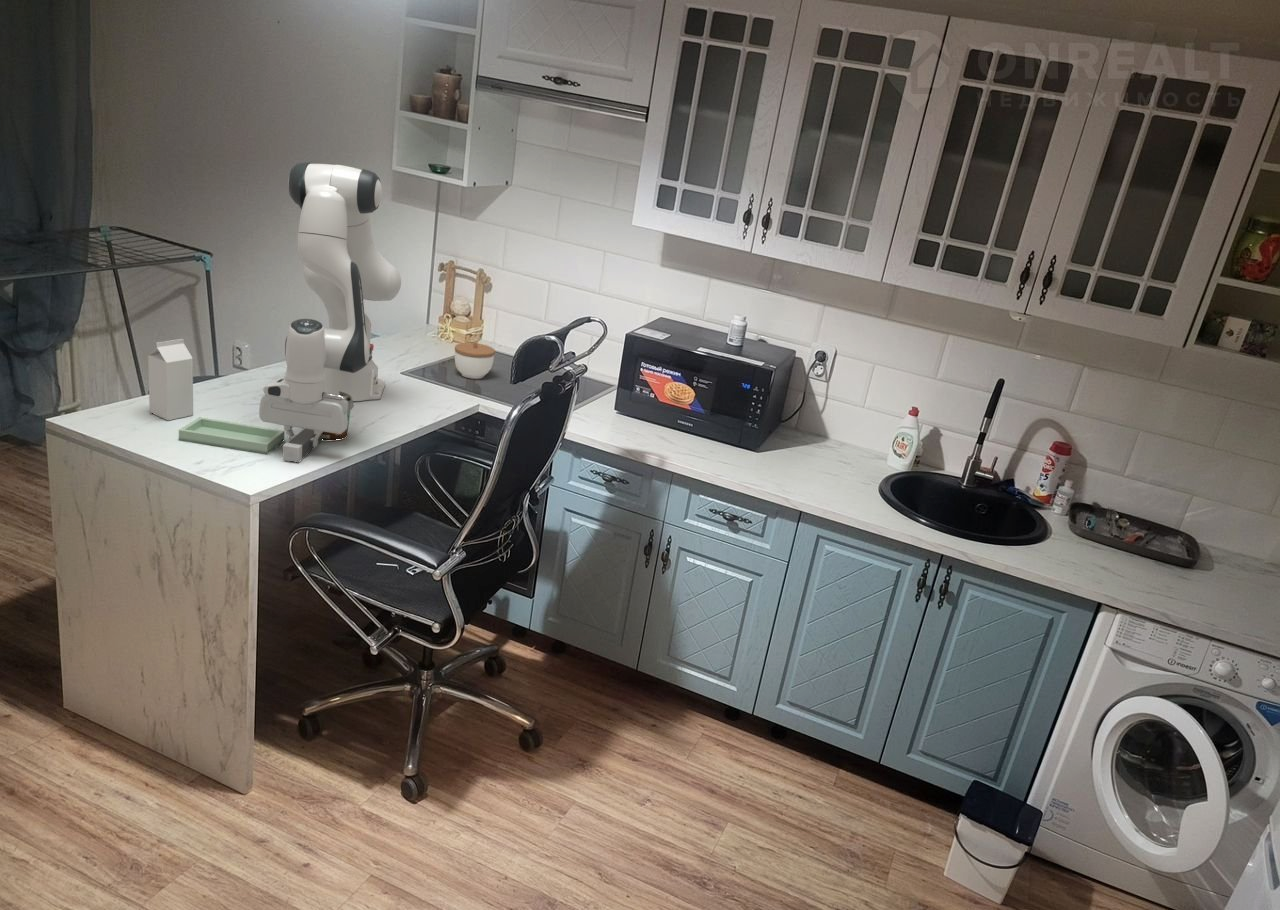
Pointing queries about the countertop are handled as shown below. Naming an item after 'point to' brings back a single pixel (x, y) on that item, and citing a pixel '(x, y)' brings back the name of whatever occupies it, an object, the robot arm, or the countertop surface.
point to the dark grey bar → (299, 445)
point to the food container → (350, 405)
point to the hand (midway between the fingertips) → (303, 444)
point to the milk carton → (171, 380)
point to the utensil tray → (231, 435)
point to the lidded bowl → (473, 359)
